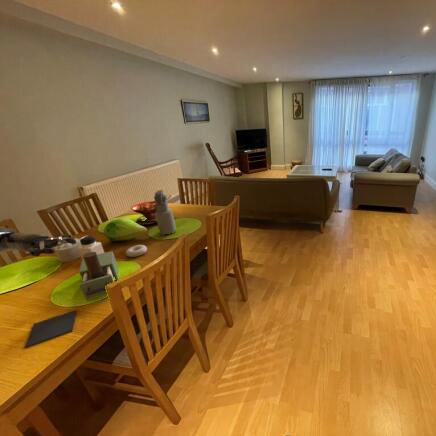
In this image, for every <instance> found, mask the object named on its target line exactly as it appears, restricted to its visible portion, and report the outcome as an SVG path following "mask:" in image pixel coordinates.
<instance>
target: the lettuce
mask: <svg viewBox="0 0 436 436" xmlns="http://www.w3.org/2000/svg"><path fill="white" fill-rule="evenodd" d="M135 222H136V221H134V220H133V219H130V218H128V217H120V218H117V219H112V220H110V221H109V222H108V223H107V224H106V225H105V226H104V230H103V235H104V236H105V237H106V238H107V239H108V240H109V241H111V242H114V243H116V242H117V243H118V242H125V241H130V240H133V239H135V238H136V237H138V236H139V235H141V234H144V233H146V232H147V231H148V228H146V227H145V226H142V225H141V224H137V223H135Z"/></svg>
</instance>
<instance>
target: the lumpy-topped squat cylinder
mask: <svg viewBox="0 0 436 436" xmlns="http://www.w3.org/2000/svg"><path fill="white" fill-rule="evenodd" d="M72 238H73V239H75V240H76V243H75V244H70V243H65V244H63V245H60V246H55V247H53V249H54V252H55V254H56V256H57V258H58V261H59V262H61V263H68V262H72V261H74V260H77V259H78V258H81V255H80V253H79V250H78V248H79V247H81V246H82V245H81V242H80V239H81V238H76V237H75V238H74V237H72ZM63 242H65V241H63ZM59 243H60V242H58V244H59Z"/></svg>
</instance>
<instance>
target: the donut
mask: <svg viewBox="0 0 436 436" xmlns="http://www.w3.org/2000/svg"><path fill="white" fill-rule="evenodd" d="M147 251H148V247H147V246H146V245H143V244H136V245H133V246H130V247H129V248H128V249H127V250H126V251H125V254H126V256H127V257H130V258H137V257H140V256H142V255H144V254H146V252H147Z"/></svg>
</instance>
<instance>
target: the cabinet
mask: <svg viewBox="0 0 436 436" xmlns="http://www.w3.org/2000/svg"><path fill="white" fill-rule="evenodd" d="M97 257H98V259H99V262H100V265H101V268H103V267H107V266H110V265H111V268H112V271H113V274H114V277H115V279H116V280H118V281H119V266H118V262H117V260H116V257H115V253H114V251H113V250H110V251H106V252H104V253H102V254H98V255H97ZM84 272H88V269H87V266H86V264H85V261H84V259H83V258H81V262H80V267H79V271H78V273H79V275H80V277H81V280H82V281H83V277H84ZM116 280H114V281H116ZM116 282H117V281H116Z"/></svg>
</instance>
